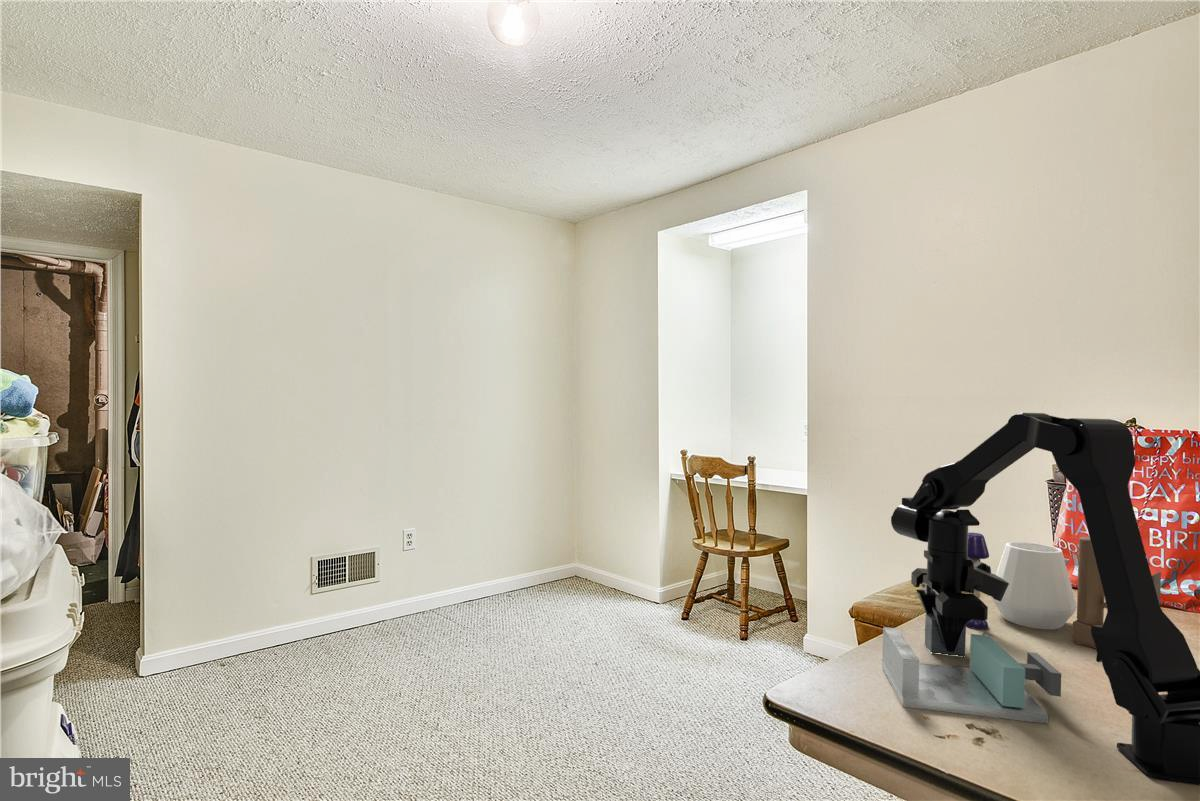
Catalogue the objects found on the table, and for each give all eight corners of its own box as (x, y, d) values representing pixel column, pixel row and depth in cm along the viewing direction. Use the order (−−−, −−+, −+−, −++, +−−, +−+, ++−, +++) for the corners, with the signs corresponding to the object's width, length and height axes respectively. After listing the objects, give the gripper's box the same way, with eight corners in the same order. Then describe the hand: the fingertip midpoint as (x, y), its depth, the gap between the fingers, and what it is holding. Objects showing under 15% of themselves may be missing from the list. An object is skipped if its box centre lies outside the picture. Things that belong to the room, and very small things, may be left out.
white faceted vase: (982, 620, 120) (984, 545, 120) (997, 604, 130) (999, 535, 130) (1071, 639, 111) (1073, 559, 111) (1080, 621, 121) (1082, 547, 121)
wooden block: (1152, 665, 101) (1155, 550, 101) (1071, 642, 109) (1074, 537, 109) (1159, 660, 103) (1162, 547, 103) (1079, 638, 112) (1082, 535, 111)
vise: (1047, 723, 81) (1049, 674, 81) (902, 706, 85) (904, 659, 85) (1005, 679, 94) (1007, 637, 94) (881, 666, 97) (882, 625, 97)
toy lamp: (978, 631, 114) (981, 537, 114) (952, 623, 118) (954, 532, 118) (992, 626, 116) (995, 535, 116) (966, 619, 120) (969, 530, 120)
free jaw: (1070, 713, 81) (1071, 673, 81) (1002, 705, 83) (1003, 667, 83) (1028, 673, 93) (1029, 639, 93) (969, 667, 94) (970, 633, 94)
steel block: (965, 657, 102) (966, 622, 102) (930, 653, 103) (931, 619, 103) (957, 649, 105) (958, 615, 105) (924, 645, 106) (925, 612, 106)
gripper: (1028, 567, 93) (1025, 674, 93) (980, 540, 112) (978, 629, 112) (944, 561, 96) (941, 665, 96) (911, 535, 114) (909, 623, 114)
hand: (944, 644), depth 104 cm, fingers open, 5 cm apart
